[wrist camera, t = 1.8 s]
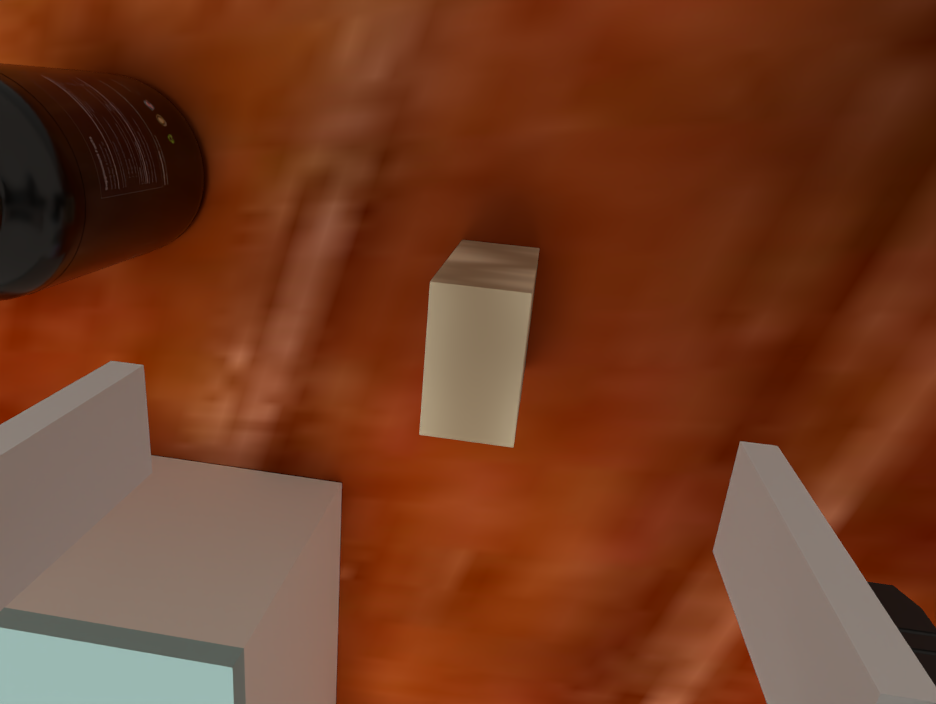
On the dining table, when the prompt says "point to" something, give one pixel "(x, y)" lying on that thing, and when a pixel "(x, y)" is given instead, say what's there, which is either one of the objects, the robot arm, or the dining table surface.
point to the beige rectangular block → (478, 342)
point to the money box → (187, 597)
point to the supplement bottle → (88, 174)
